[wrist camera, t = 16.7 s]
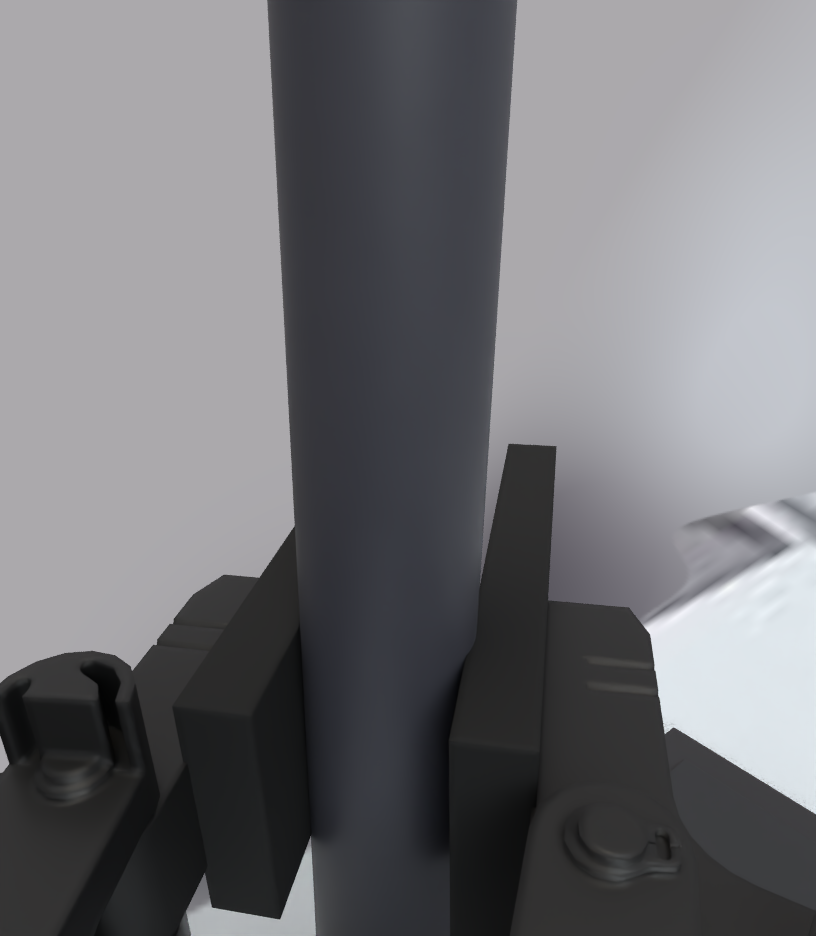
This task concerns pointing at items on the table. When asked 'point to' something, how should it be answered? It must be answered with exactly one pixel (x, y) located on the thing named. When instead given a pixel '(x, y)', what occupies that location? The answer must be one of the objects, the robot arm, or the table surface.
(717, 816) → the dark grey flat block
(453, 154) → the stylus
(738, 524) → the table surface
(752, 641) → the table surface
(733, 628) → the table surface
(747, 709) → the table surface
